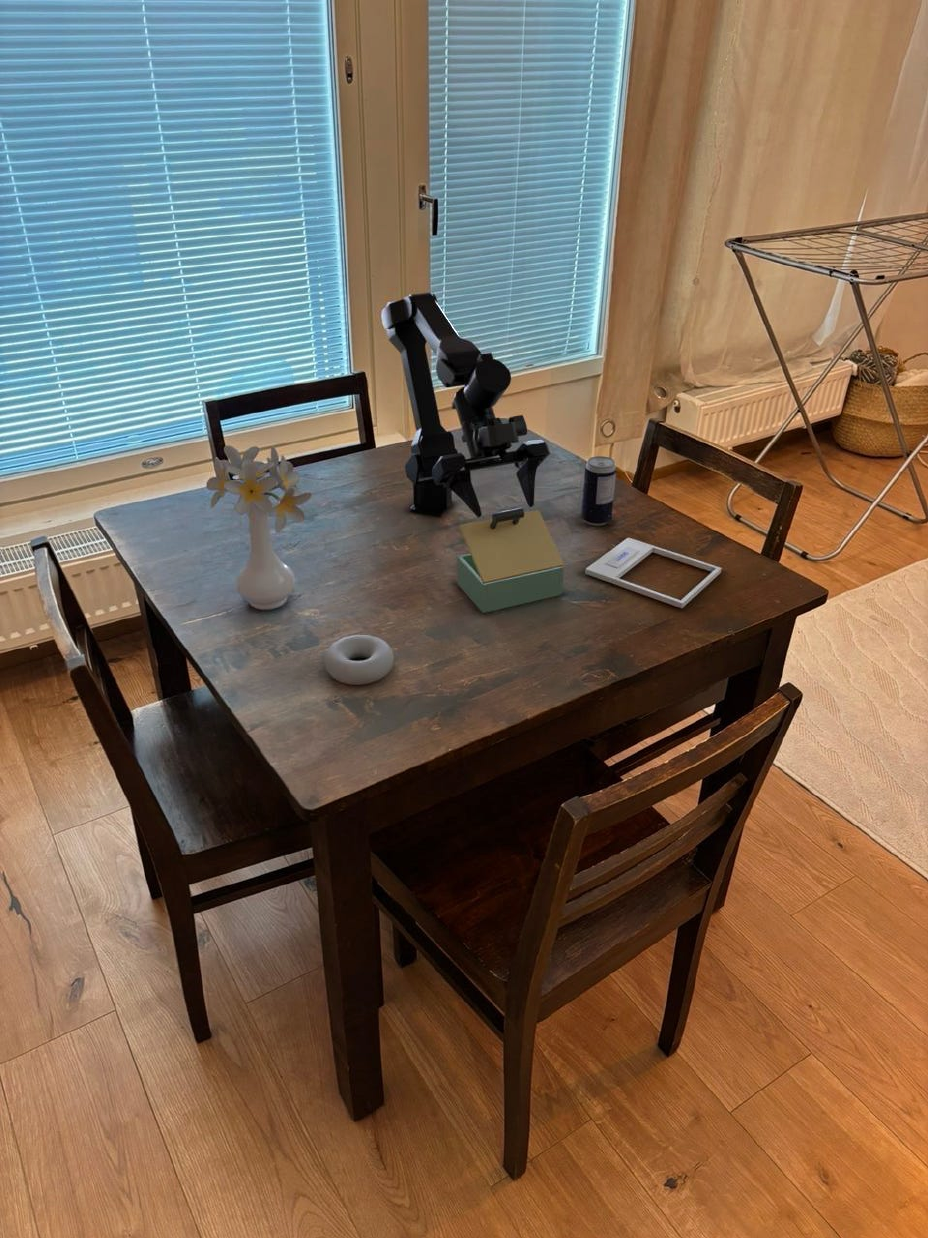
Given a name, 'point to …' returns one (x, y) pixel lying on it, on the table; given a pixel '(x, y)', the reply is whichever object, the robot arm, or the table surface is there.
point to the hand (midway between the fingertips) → (506, 511)
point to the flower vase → (261, 519)
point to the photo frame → (631, 555)
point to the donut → (359, 671)
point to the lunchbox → (507, 586)
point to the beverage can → (598, 490)
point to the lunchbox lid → (511, 545)
